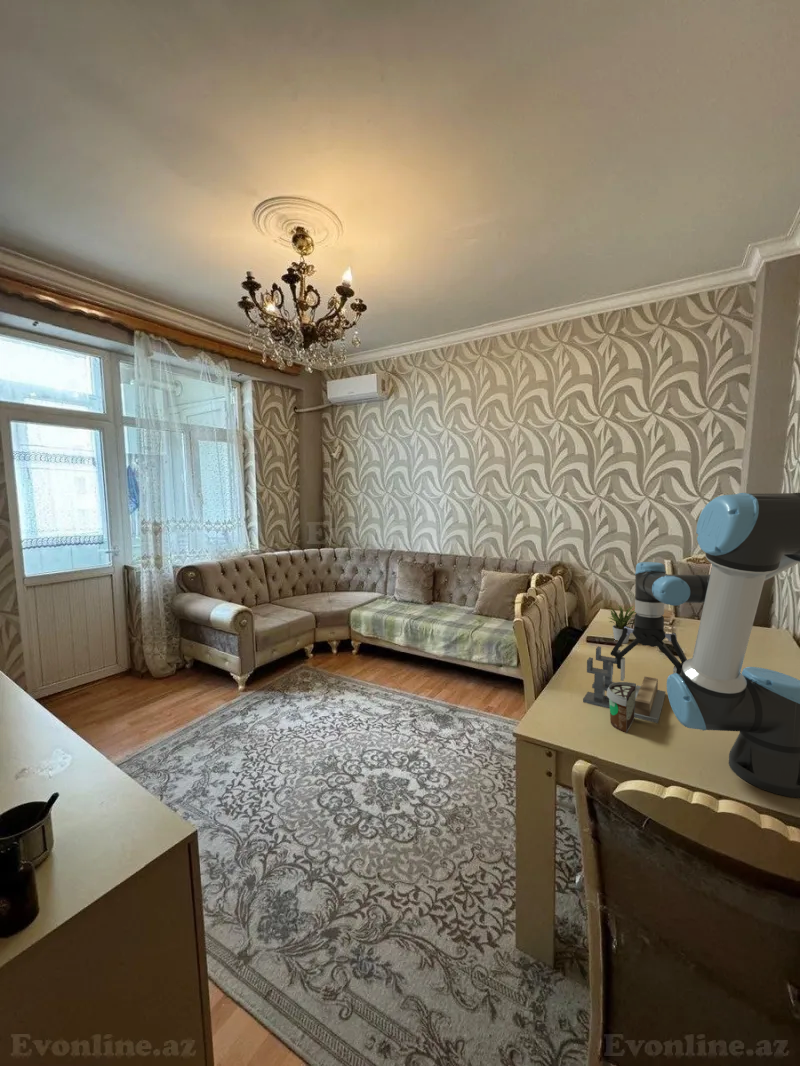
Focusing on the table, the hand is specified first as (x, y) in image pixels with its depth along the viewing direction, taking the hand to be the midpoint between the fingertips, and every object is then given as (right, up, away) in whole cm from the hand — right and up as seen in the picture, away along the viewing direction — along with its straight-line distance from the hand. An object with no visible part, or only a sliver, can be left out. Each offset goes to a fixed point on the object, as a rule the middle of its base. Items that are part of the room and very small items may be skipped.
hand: (647, 684), depth 130 cm
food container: (-13, -8, -9) cm, 18 cm away
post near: (-13, -6, +3) cm, 15 cm away
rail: (0, -5, +1) cm, 5 cm away
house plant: (+22, -2, +56) cm, 61 cm away
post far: (-6, -5, +13) cm, 15 cm away
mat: (0, -6, +1) cm, 6 cm away
